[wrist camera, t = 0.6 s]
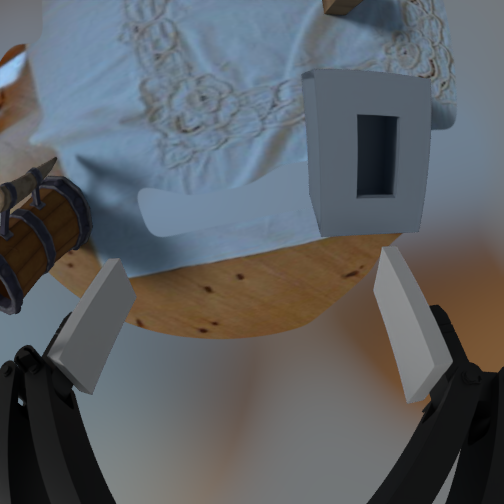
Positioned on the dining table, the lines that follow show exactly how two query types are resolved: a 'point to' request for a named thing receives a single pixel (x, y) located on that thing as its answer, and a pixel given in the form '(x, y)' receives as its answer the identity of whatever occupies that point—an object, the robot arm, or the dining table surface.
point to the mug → (37, 230)
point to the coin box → (367, 150)
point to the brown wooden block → (339, 6)
